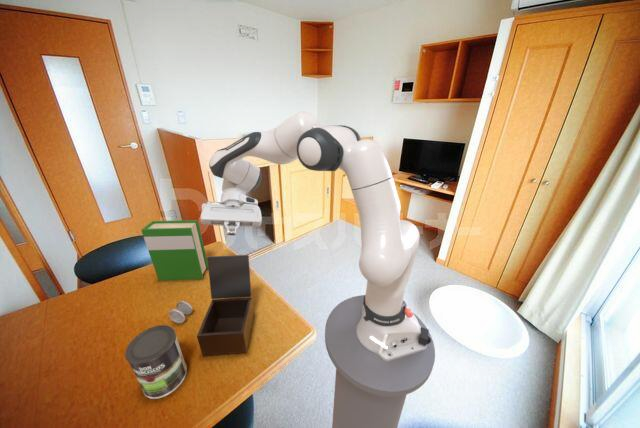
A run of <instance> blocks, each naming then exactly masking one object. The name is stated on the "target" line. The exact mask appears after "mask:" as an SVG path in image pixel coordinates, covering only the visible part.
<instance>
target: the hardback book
mask: <svg viewBox="0 0 640 428" xmlns="http://www.w3.org/2000/svg"><path fill="white" fill-rule="evenodd" d="M141 234H142V236H143V239H144V242H145V245H146V248H147V250H148V253H149V256H150V260H151V261H152V262H151V263H152V265H153V268H154V271H155V275H156V277H157V279H158V281H187V280H203V279H204V273H205V271H206V270H209V269H208V260H207V254H206V249H205V246H204V240H203V235H202V232H201V227H200V222H199V220H198V219H188V220H181V219H180V220H151V222H149V223H148V224H147V225H146V226H144V227H143V228H141Z"/></svg>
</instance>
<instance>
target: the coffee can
mask: <svg viewBox="0 0 640 428" xmlns="http://www.w3.org/2000/svg"><path fill="white" fill-rule="evenodd" d="M124 356H125V360H126V361H127V362H128V364H129V366H130V367H131V370H132V371H133V373H134V375H135V377H136V379H137V382H138V383H139V385H140V388H141V389H142V392H143V395H144V396H145V397H146V398H147V399H151V400H157V399H161V398H164V397H165V398H166V397H167V396H168V395H170V394H172V393H174V392H175V391H176V390H177V389H178V388H180V386H181V384H182V383H183V382H184V381H185V379H186V377H187V375H188V374H187V373H188V365H187V363H186V361H185V358H184V355H183V351H182V350H181V346H180V344H179V340H178V337H177V332H176V329H175V328H174V327H172V326H170V325H167V324H158V325H155V326H152V327H149V328H146V329H145V330H143V331H142V332H140V333H139V334H138V335H136V336H135V337H134V338H132V340H131V341H129V343H128V346H127V347H126V349H125V352H124Z"/></svg>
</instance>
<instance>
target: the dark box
mask: <svg viewBox="0 0 640 428" xmlns="http://www.w3.org/2000/svg"><path fill="white" fill-rule="evenodd" d="M254 319H255V313H254V306H253V299H252V296H251V297H238V298H220V299H211V301H210V304H209V306H208V309H207V311H206V313H205V316H204V318H203V320H202V323H201V324H200V328H199V330H198V332H197V335H196V339H197V342H198V345H199V348H200V352H201V355H202V357H204V358H205V357H206V358H207V357H216V356H217V357H218V356H232V355H243V354H248V349H249V345H250V340H251V334H252V329H253V324H254Z"/></svg>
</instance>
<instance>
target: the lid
mask: <svg viewBox="0 0 640 428" xmlns="http://www.w3.org/2000/svg"><path fill="white" fill-rule="evenodd" d="M206 258H207V262H208V269H207V270H208V278H209V287H210V297H211V300H213V299H231V298H248V297H251V298H252V284H251V283H252V282H251V269H250V256H249V254H235V255H233V254H232V255H231V254H230V255H209V256H206Z"/></svg>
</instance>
